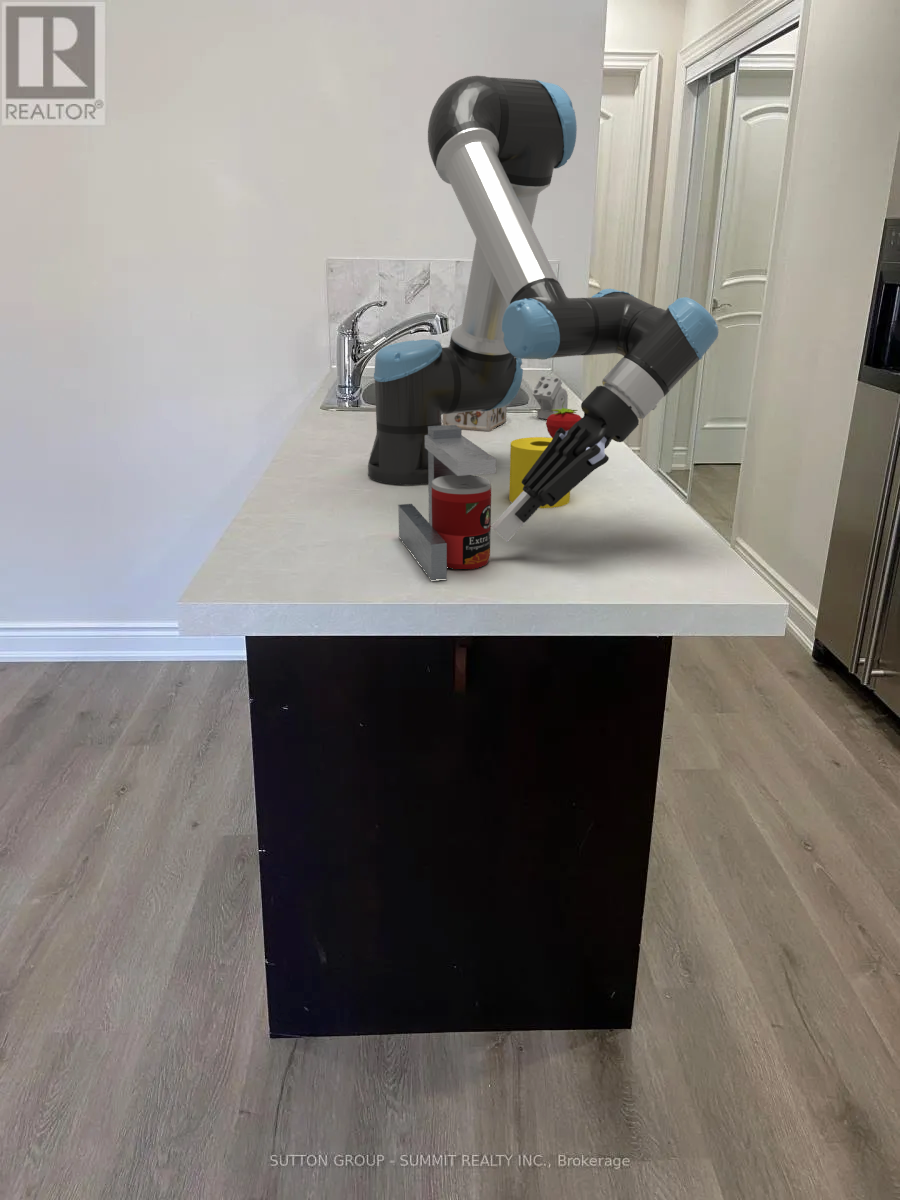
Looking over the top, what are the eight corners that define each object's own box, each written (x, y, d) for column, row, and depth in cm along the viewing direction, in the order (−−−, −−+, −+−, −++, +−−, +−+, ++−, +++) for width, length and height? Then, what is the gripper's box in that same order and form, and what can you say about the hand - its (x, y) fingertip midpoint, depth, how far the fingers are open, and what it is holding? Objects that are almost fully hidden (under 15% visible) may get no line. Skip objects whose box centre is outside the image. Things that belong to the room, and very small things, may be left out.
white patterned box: (441, 428, 205) (441, 346, 199) (460, 419, 215) (461, 340, 208) (490, 432, 201) (492, 348, 194) (508, 422, 211) (510, 343, 204)
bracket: (462, 529, 135) (462, 422, 129) (506, 574, 117) (509, 452, 111) (396, 534, 133) (394, 425, 127) (431, 581, 115) (430, 457, 109)
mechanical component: (567, 418, 216) (569, 375, 212) (548, 423, 211) (550, 379, 207) (549, 415, 219) (551, 373, 215) (530, 420, 214) (531, 377, 210)
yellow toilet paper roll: (563, 510, 145) (566, 452, 141) (502, 505, 147) (504, 448, 144) (574, 494, 153) (577, 439, 150) (516, 489, 156) (518, 435, 153)
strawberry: (582, 453, 182) (585, 403, 178) (544, 452, 182) (546, 402, 179) (581, 447, 187) (584, 398, 183) (544, 446, 188) (546, 397, 184)
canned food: (472, 574, 117) (473, 492, 113) (420, 563, 121) (419, 483, 117) (500, 557, 123) (502, 479, 119) (450, 548, 127) (450, 471, 123)
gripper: (660, 430, 115) (534, 566, 117) (616, 413, 127) (501, 536, 129) (625, 390, 112) (495, 531, 114) (582, 376, 124) (466, 504, 126)
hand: (499, 534), depth 122 cm, fingers closed
